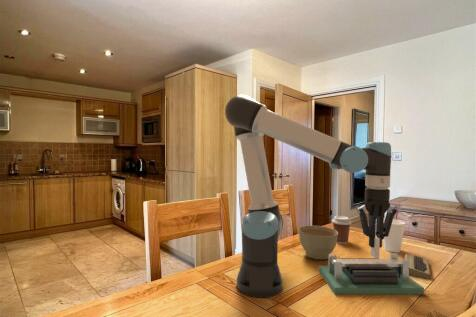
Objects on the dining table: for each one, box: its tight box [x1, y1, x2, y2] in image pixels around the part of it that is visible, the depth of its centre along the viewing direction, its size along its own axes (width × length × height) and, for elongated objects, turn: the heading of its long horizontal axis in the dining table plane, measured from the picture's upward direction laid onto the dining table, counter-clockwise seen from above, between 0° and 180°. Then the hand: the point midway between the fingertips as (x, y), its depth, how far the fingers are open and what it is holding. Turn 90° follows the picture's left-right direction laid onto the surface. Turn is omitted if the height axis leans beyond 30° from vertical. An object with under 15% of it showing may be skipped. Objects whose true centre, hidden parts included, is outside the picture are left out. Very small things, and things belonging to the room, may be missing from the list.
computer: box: [403, 253, 432, 280], centre depth 103 cm, size 16×8×3 cm, turn 148°
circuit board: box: [318, 265, 425, 295], centre depth 92 cm, size 28×16×2 cm, turn 90°
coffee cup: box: [331, 215, 352, 245], centre depth 133 cm, size 9×9×12 cm
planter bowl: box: [298, 225, 338, 260], centre depth 115 cm, size 16×16×11 cm
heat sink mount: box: [327, 252, 410, 285], centre depth 92 cm, size 24×12×8 cm, turn 90°
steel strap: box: [331, 258, 401, 267], centre depth 92 cm, size 23×4×2 cm, turn 90°
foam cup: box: [382, 218, 406, 254], centre depth 122 cm, size 10×9×13 cm
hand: (374, 256), depth 92 cm, fingers closed
